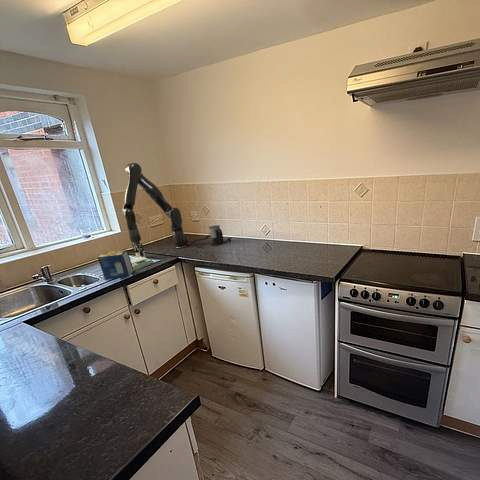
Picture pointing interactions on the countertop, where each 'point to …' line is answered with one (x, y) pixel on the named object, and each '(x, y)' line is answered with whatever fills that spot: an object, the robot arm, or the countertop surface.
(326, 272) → the countertop surface
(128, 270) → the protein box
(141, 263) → the scale
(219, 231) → the milk frother
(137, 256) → the beige cup
